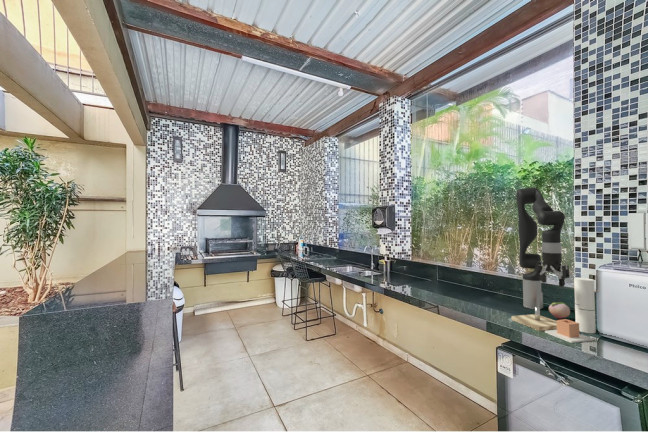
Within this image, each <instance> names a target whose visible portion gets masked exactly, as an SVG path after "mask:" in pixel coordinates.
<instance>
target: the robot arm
mask: <svg viewBox="0 0 648 432" xmlns="http://www.w3.org/2000/svg"><path fill="white" fill-rule="evenodd" d="M515 194H516V195H515V196H516V197H515V198H516V206H517V214H518V239H519V252H518V253H519V256H518V259H519V260H518V261H519V266H520V267H521V268H522V269H531V270H532V269H533V271H531V272H527V273H526V272H525V273H523V274H522V295H523V296H522V299H523V301H522V303H523V306H522V307H524V308H526V309H531V310H535V307H539V308H540V310H542V309H544V300H543V299H544V295H543V294H544V293H543V292H542V283H547V273H553V274H555V275H556V276H557V277H558V287H565V286H566V279H569V278H570V266H569V265H568V264H566V265H563V264H562V260H563V256H562V252H563V251H562V243H561V242H562V240H561V234H562V233H561V232H562V229H563V225H564V223H565V220H566V216H565V214H564V212H563V211H561V210H554V209H553V207H551V206H550V205H549V203H547V202H546V200H545V198H544V196H543V194H542V192H541V191H540V190H539V188H537V187H527V188H525V187H524V188H519V189H517V190H516V193H515ZM530 204H532V205H531V209H532V211H533V212H534V214H535V215H536V217H537V220H535V219H534V218H533V217H532V216H531V215H530V214H529V213H528V211H527V209H526V207H525V206H526V205H530ZM536 221H537V222H536ZM537 223H538V224H539V225H541V226H552V228H551V229H550V228H549V229H545V230H543V231H542V232H541V238H542V239H541V241H542V242H541V255H540V254H538V253H526V252H527V250H528V249H529V246H530V245H531V244H532V243H533V241H535V240H536V238H537V236H538V224H537Z"/></svg>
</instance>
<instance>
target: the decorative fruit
mask: <svg viewBox="0 0 648 432" xmlns="http://www.w3.org/2000/svg"><path fill="white" fill-rule="evenodd" d="M548 311H549V313H550V314H551V315H552V316H553V317H555V318H556V319H557V320H563V319H566V318H567V317H570V315H571V309H570V307H569V306H568V305H567V303H565V302H561V301H560V300H558V302H552V303H551V304H550V305H549V306H548Z"/></svg>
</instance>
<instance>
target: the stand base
mask: <svg viewBox="0 0 648 432" xmlns="http://www.w3.org/2000/svg"><path fill="white" fill-rule="evenodd" d="M511 320H512V321H513V322H516V323H519V324H521V325H524V326H525V325H526V326H525V327H529V328H530V327H531V328H530V329H533V330H535V329H536V331H538V332H543V331H544V332H545V331H548V330H557V320H554V319H552V318H549V317H547V316H542V315H540V321H537V320H535V313H534V314H522V315H513V316H512V315H511Z"/></svg>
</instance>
